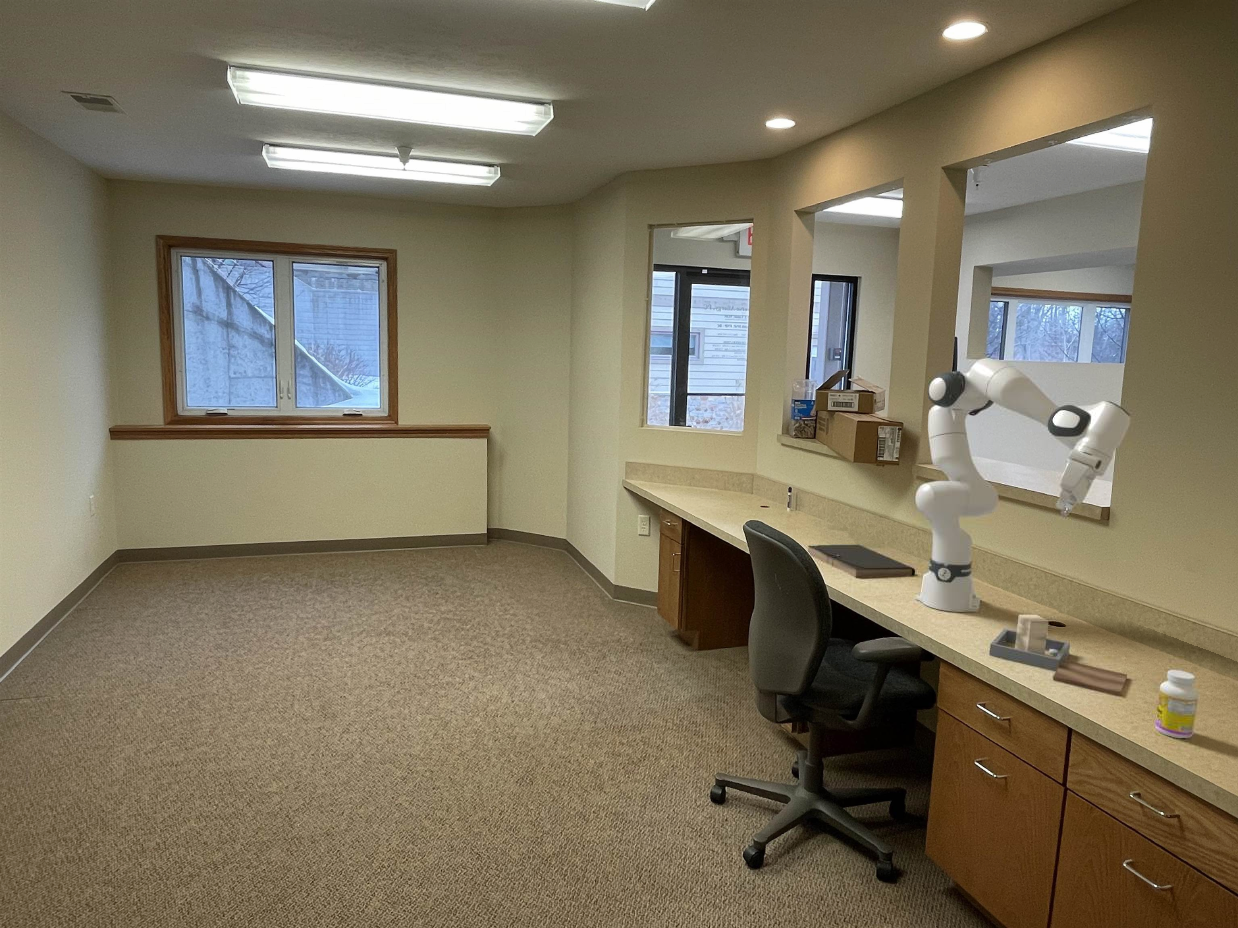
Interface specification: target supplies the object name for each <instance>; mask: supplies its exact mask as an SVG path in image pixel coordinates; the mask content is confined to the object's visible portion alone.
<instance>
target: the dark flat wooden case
mask: <svg viewBox="0 0 1238 928" xmlns="http://www.w3.org/2000/svg"><path fill="white" fill-rule="evenodd" d="M808 552H809V553H810V554H811V555H810V556H811V557H813V558H815V559H818V560H819V561H820V562H823V563H826V564H827V565H830V566H831V567H834V568H835V569H838V570H840V571H843V573H844V572H845V573H847V574H848V575H850V576H851V577H854V578H856V579H858V578H859V579H860V578H861V579H862V578H880V577H881V578H883V577H904V576H914V575H915V574H916V569H915V568H914V567H912V566H910V565H908V564H905V563H903V562H900V561H898V560H895V559H893V558H890V557H889V556H886V555H884V554H882V553H879V552H877V551H875V550H872V549H870V548H868V547H865V546H864V545H861V544H818V545H808V549H807V553H808Z"/></svg>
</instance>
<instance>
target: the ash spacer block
mask: <svg viewBox="0 0 1238 928" xmlns="http://www.w3.org/2000/svg"><path fill="white" fill-rule="evenodd" d="M1017 618H1018V619H1017V626H1016V627H1017V628H1016V631H1017V634H1016V643H1014V648H1015V649H1019V650H1024V651H1028V652H1032V653H1037V654H1041V655H1046V654H1045V653H1046V650H1045V647H1046V639H1047V638H1048V629H1049V620H1048V619H1046V618H1044V617H1042V616H1040V615H1038V614H1018V617H1017Z"/></svg>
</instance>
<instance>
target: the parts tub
mask: <svg viewBox="0 0 1238 928" xmlns="http://www.w3.org/2000/svg"><path fill="white" fill-rule="evenodd" d="M1016 634H1017V630H1013V629H1008V628H1003V630H1002V631H1001V632H1000V633H999V634H998V635H997V636H996V638H995V639H993V640H992V641H991V643H990V644H989V645H990V646H989V656H991V657H996V658H1000V659H1004V660H1007V661H1013V662H1017V663H1021V664H1025V665H1029V666H1033V667H1038V668H1041V669H1046V670H1051V671H1055V672H1056V671H1057V669H1058V668H1059V666H1060V664H1061V663H1062V661H1063V660H1066V659H1067V658H1068V655H1070V646H1071V642H1067V641H1063V640H1060V639H1059V640H1058V639H1053V638H1048V637H1047V639H1046V647H1045V651H1048V654H1049V655H1050V656H1049V655H1046V654H1045V655H1041V654H1037V653H1032V652H1028V651H1024V650H1019V649H1015V647H1012V646H1011V647H1010V646H1006V645H1005V644H1006V642H1010V643H1013V642H1014V644H1015V643H1016ZM1002 645H1003V646H1002ZM1053 656H1055V657H1053Z"/></svg>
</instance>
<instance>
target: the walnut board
mask: <svg viewBox="0 0 1238 928" xmlns="http://www.w3.org/2000/svg"><path fill="white" fill-rule="evenodd" d="M1127 679H1128V674H1127V673H1123V672H1117V671H1113V670H1108V669H1104V668H1100V667H1097V666H1096V667H1095V666H1092V665H1087V664H1082V663H1079V662H1074V661H1070V660H1066V659H1065V660H1063V661H1062V663H1061V664H1060V666H1059V668H1058V669H1057V671H1055V672H1054V674H1053V676H1052V680H1053V681H1056V682H1060V683H1064V684H1068V685H1073V686H1076V687H1080V688H1084V689H1089V690H1091V691H1095V692H1100V693H1104V694H1105V693H1106V694H1107V695H1108V694H1109V695H1113V696H1117V697H1121V695H1122V693H1123V690H1124V688H1125V685H1126V682H1127Z"/></svg>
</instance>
